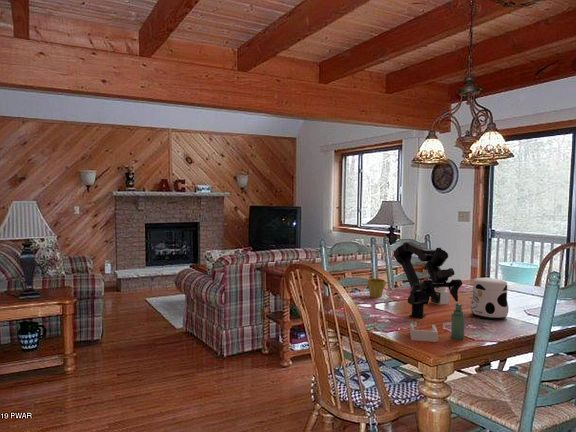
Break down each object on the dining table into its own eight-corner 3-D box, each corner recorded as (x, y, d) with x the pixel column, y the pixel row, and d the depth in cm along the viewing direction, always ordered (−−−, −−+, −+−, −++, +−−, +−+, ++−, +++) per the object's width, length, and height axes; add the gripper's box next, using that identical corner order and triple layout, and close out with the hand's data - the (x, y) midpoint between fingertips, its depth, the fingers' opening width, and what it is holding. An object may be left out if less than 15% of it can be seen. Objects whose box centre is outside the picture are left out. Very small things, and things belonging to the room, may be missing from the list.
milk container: (462, 313, 228) (463, 278, 227) (487, 310, 235) (488, 276, 234) (490, 323, 212) (491, 285, 211) (516, 319, 219) (517, 283, 218)
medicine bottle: (430, 302, 251) (430, 281, 250) (439, 300, 254) (440, 280, 254) (439, 305, 245) (440, 283, 244) (449, 303, 248) (450, 282, 247)
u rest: (409, 332, 196) (410, 323, 196) (434, 334, 194) (434, 325, 194) (411, 339, 186) (411, 330, 186) (437, 342, 184) (437, 332, 184)
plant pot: (388, 297, 260) (389, 281, 260) (374, 299, 256) (374, 282, 255) (377, 293, 269) (378, 277, 269) (363, 295, 265) (364, 279, 264)
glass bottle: (452, 335, 193) (453, 302, 192) (465, 337, 190) (466, 303, 189) (449, 338, 189) (450, 304, 188) (462, 340, 186) (464, 306, 185)
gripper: (423, 262, 199) (435, 292, 189) (460, 261, 203) (475, 291, 193) (414, 276, 207) (425, 306, 197) (450, 275, 211) (463, 304, 201)
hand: (447, 301), depth 196 cm, fingers open, 9 cm apart
